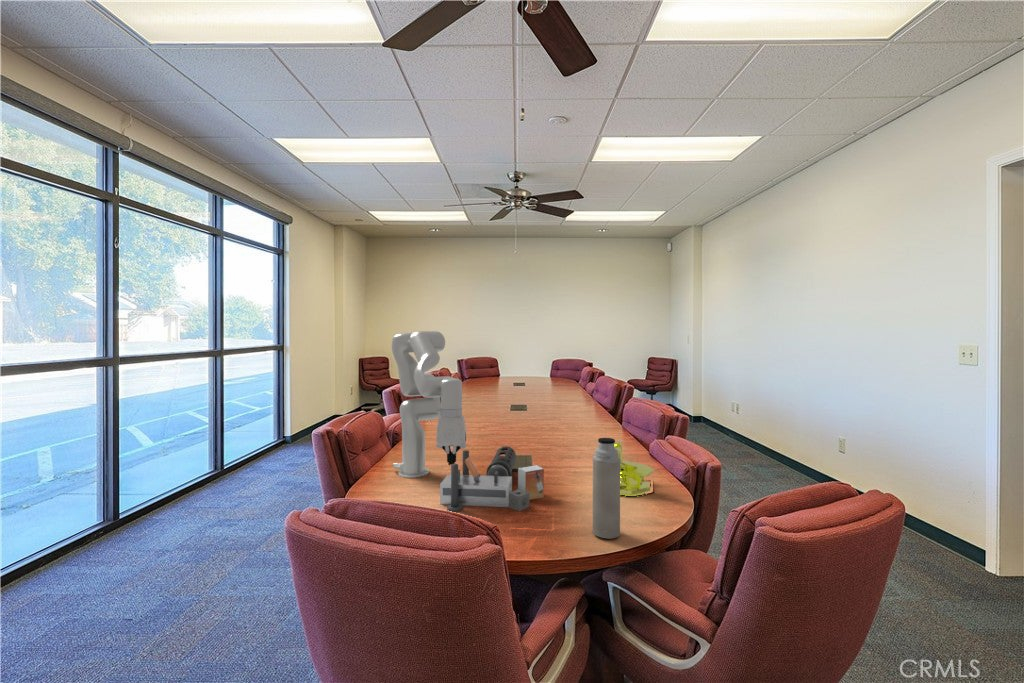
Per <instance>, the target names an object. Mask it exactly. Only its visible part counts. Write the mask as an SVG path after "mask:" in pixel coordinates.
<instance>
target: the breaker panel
mask: <svg viewBox="0 0 1024 683" xmlns="http://www.w3.org/2000/svg"><path fill="white" fill-rule="evenodd" d="M510 492H513V476H511V477H510V476H498V471H496V472H495V474H494V476H486V475H481V474H480V478H479V479H478V481H477V482H475V481H474V477H473V476H472V474H469V475H463V474H461V469H458V504H461V505H462V506H471V507H472V506H475V507H495V508H496V507H498V508H509V493H510ZM439 501H440V502H439V505H445V506H446V505H447V506H448V505H449V504H451V473H450V474H447V475H446V476H445V477H444V479H442V481H441V482H440V484H439Z"/></svg>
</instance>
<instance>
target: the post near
mask: <svg viewBox="0 0 1024 683" xmlns="http://www.w3.org/2000/svg"><path fill="white" fill-rule="evenodd" d="M458 470H459V464H458V463H454V464H451V465H450V474H451V504H449V505H447V506H446V510H447V511H448V510H449V511H448V512H450V511H454V512H453V513H456V512H457V513H458V512H460V511H462V510H463V505H461V504H458Z"/></svg>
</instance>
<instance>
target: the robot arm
mask: <svg viewBox="0 0 1024 683" xmlns="http://www.w3.org/2000/svg"><path fill="white" fill-rule="evenodd" d="M445 347H446V339H445V336H444V335H443V333H441V332H440V331H438V330H437V331H436V330H435V331H434V330H431V331H430V330H427V331H426V330H425V331H424V330H419V331H415V332H401V333H397V334H395V335H394V336H393V338H392V340H391V351H392V352H391V353H392V355H393V358H394V361H395V362H396V366H397V370H398V378H399V387H400V391H401V394H402V395H403V396H404V397H420V396H422V397H423V398H421V397H420V398H412V399H406V400H403V401H402V402H401V404H400V406H399V415H400V420H401V421H400V423H401V441H402V442H401V444H402V445H401V447H402V448H401V451H402V453H401V456H402V457H401V459H402V461H401V462H400V463H399V462H395V463H394V462H393V463H392V464H393V465H392V467H393V469H394V470H398V472H397V473H398V477H401V478H405V479H416V477H417V478H422V477H425V476H427V475H429V472H430V470H429V468H427V467H426V430H425V429H424V427H423V426H422V425H421V423H420V422H424V421H425V422H426V421H431V420H436V419H438V420H437V425H436V439H435V441H436V448H438V449H441V450H443V451H444V452H445V453H446V462H447V463H448V466H451V464H456V462H457V453H458V451H459V450H463V449H466V448H467V443H466V442H467V429H466V420H465V417H464V416H463V382H462V380H461V379H459V378H455V377H453V376H451V375H450V376H449V375H448V376H445V375H444V376H435V375H434V374H432V373H426V372H428V371H430V370H432V369H434V368H435V367H436V366H438V364H439V363H440V361H441V360H440V355H439V353H438V352H441V351H443V350H444V348H445ZM410 353H413V354H414V356H415V358H414V357H413V356H412V354H410ZM451 447H452V448H451ZM421 476H422V477H421Z"/></svg>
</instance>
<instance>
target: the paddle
mask: <svg viewBox="0 0 1024 683" xmlns="http://www.w3.org/2000/svg"><path fill="white" fill-rule="evenodd" d="M465 463H466V465H467V467H468V468H469V473H471V474H470V475H472V476H473V477H474V481H475V482H477V481H478V479H479V478H480V475H481V474H479V472H478V471H477V469H476V467H475V464H473V462H472V460H471V459H470V457H469V458H467V459H466V460H465Z"/></svg>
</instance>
